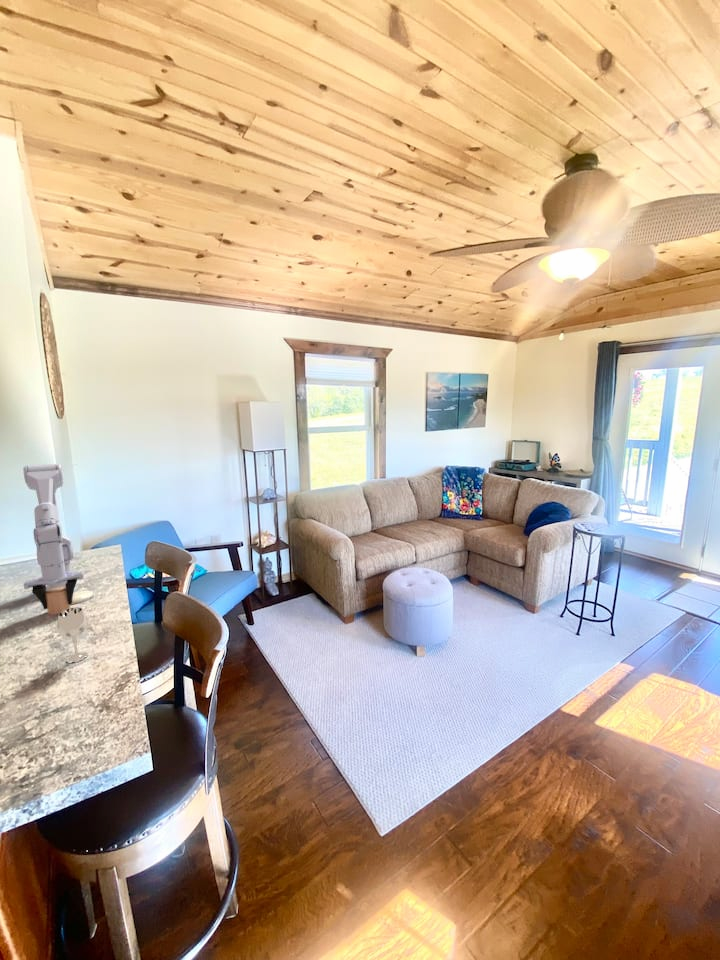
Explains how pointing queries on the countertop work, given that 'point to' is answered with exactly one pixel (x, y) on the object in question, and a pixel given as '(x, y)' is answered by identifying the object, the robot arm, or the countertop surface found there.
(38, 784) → the countertop surface
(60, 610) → the cup
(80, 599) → the dish
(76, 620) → the wineglass
